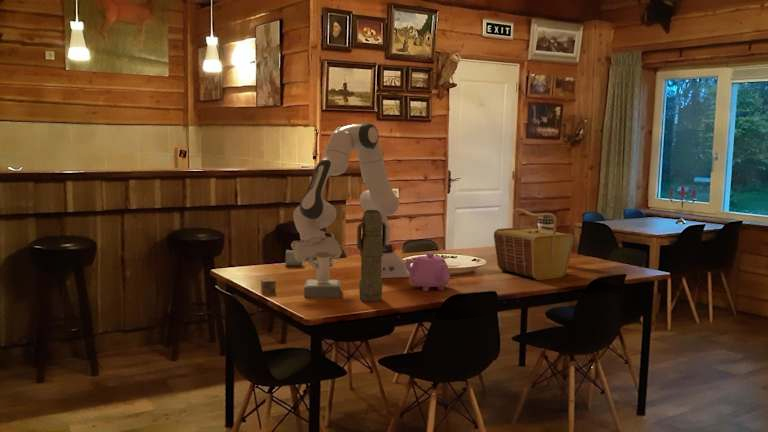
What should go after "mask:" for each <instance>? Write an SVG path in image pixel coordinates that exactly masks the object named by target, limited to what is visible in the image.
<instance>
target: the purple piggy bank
mask: <svg viewBox="0 0 768 432" xmlns="http://www.w3.org/2000/svg"><path fill="white" fill-rule="evenodd" d="M425 254H426V255H421V256H417V257H415V259H408V260H407V259H406V260H405V265H406V270H408V271H409V273H410V274H409V277H408V278H409V280H410V282H411V284H413V285H414V287H415V288H422V289H421V291H423V292H429V291H430V288H437V290H440V291H444V290H445V287H444V286H447V285H448V284H449V283H450V280H451V272H450V269H449V266H448V264H447V262H446V260H445V258H444V257H442V256H437V255H435V253H434V252H426V253H425ZM411 264H412V265H411Z"/></svg>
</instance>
